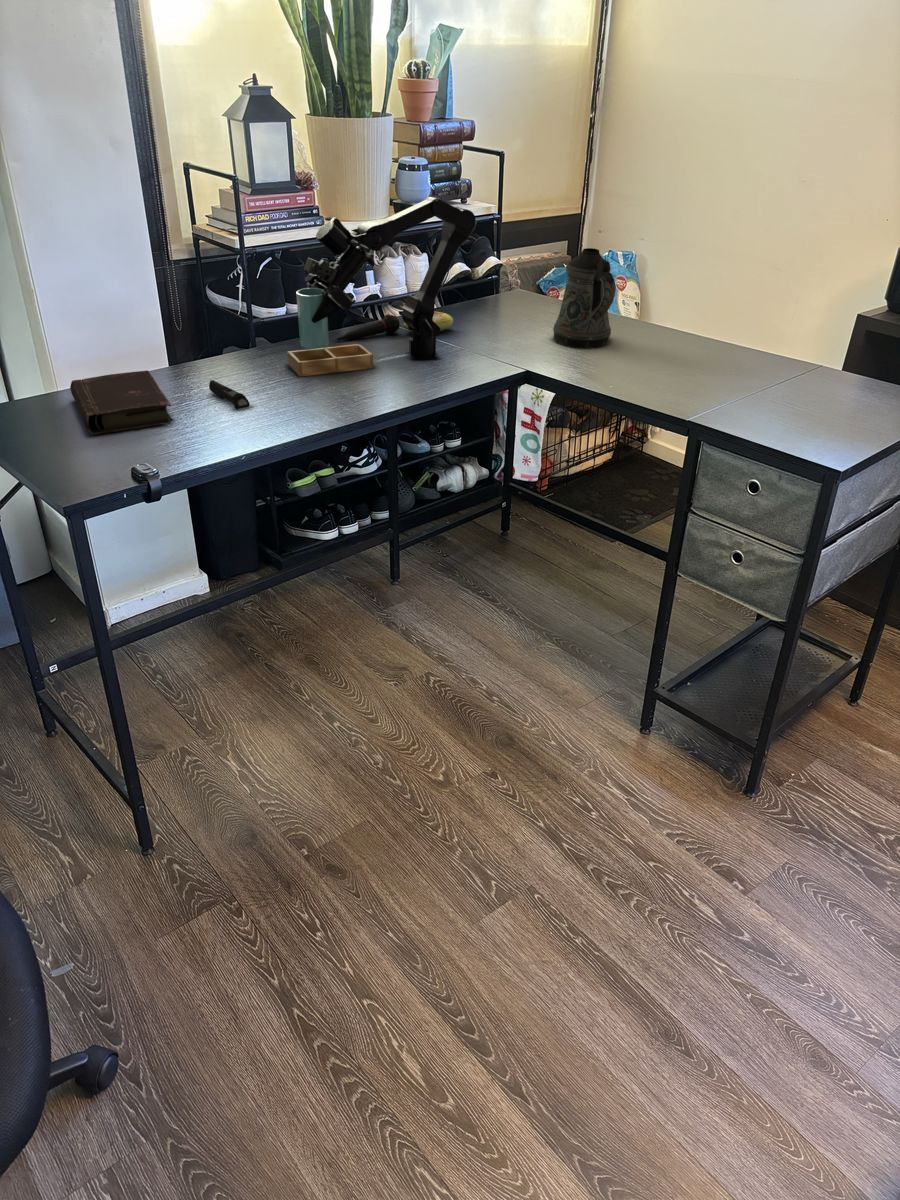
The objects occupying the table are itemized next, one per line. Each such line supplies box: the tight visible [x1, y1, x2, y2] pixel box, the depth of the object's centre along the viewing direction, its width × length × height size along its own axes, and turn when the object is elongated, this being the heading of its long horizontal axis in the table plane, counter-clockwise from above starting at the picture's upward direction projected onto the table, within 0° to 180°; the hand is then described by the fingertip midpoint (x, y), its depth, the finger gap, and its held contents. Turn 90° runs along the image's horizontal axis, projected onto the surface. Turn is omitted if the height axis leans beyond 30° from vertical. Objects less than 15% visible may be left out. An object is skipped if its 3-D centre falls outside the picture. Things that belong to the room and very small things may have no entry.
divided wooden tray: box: [287, 343, 374, 377], centre depth 230 cm, size 20×10×4 cm, turn 114°
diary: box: [69, 369, 174, 436], centre depth 198 cm, size 19×25×5 cm
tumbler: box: [295, 287, 330, 350], centre depth 221 cm, size 7×7×13 cm
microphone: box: [336, 313, 401, 341], centre depth 255 cm, size 6×6×20 cm
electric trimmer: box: [208, 379, 251, 410], centre depth 207 cm, size 4×16×3 cm, turn 39°
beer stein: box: [552, 247, 617, 349], centre depth 249 cm, size 16×19×25 cm
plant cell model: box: [403, 311, 454, 332], centre depth 260 cm, size 11×8×15 cm
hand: (307, 318), depth 220 cm, fingers closed on tumbler, 7 cm apart
